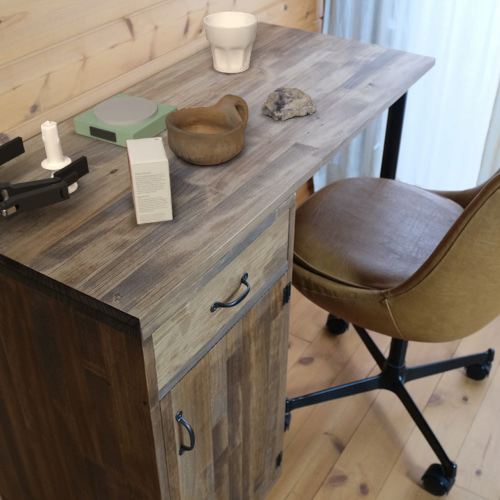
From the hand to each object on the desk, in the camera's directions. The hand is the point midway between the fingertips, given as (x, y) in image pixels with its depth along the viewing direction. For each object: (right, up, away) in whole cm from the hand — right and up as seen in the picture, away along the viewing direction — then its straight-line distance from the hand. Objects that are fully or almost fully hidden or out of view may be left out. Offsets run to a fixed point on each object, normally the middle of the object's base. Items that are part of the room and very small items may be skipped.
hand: (53, 153), depth 103 cm
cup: (+27, +28, +50) cm, 63 cm away
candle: (0, -5, +4) cm, 7 cm away
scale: (+7, +9, +23) cm, 26 cm away
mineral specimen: (+39, +12, +27) cm, 49 cm away
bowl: (+24, +2, +14) cm, 28 cm away
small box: (+16, -9, -1) cm, 18 cm away
